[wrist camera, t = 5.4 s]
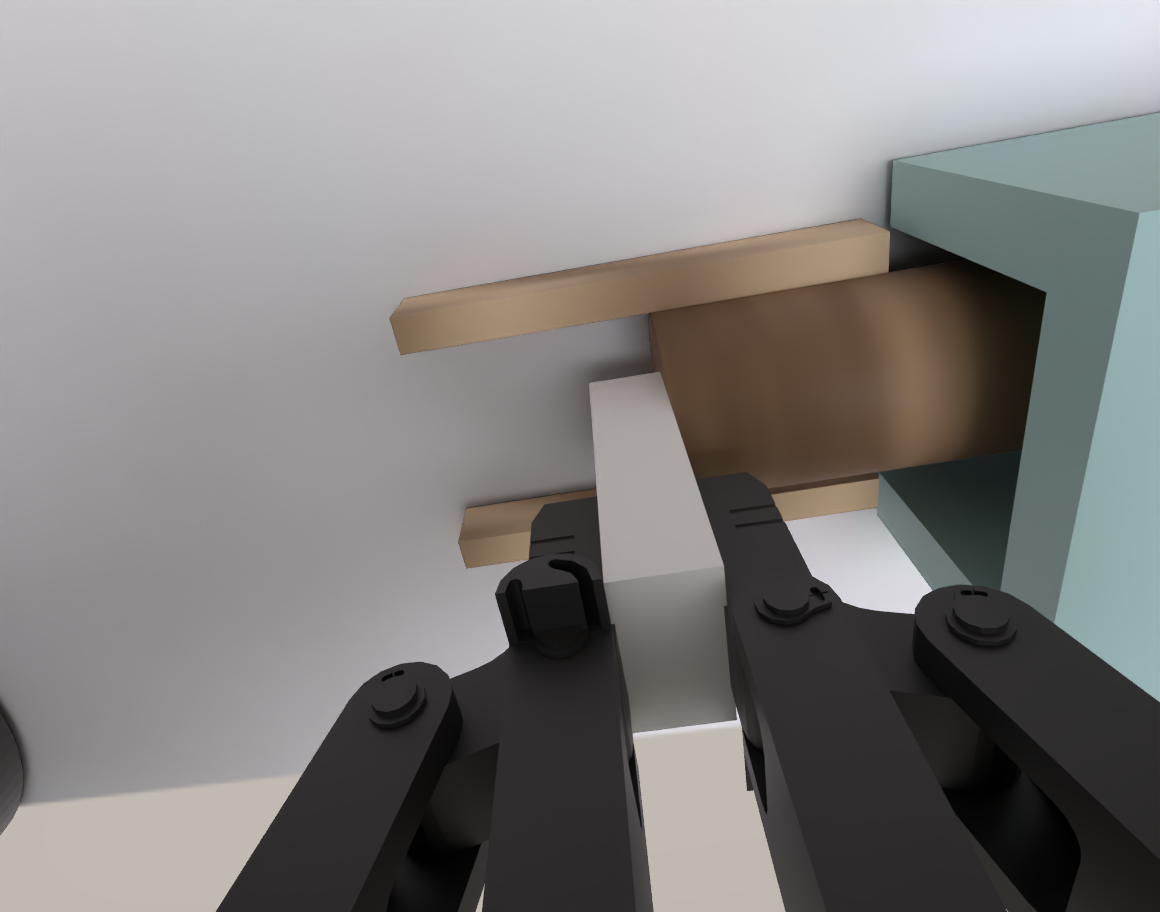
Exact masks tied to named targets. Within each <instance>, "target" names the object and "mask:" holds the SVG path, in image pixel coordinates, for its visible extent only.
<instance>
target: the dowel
mask: <svg viewBox="0 0 1160 912" xmlns="http://www.w3.org/2000/svg"><path fill="white" fill-rule="evenodd" d="M1046 294H1047V292H1045V291H1042V290H1040V289H1038V288H1035V287H1033V286H1030V285H1028V284H1026V283H1023V282H1021V281H1019V280H1016V279H1014V278H1011V277H1009V276H1007V275H1004V274H1002V273H999V272H997V271H995V270H992V269H990V268H988V267H985V266H983V265H980V264H978V263H976V262H973V261H971V260H968V259H964V260H958V261H952V262H946V263H940V264H935V265H929V266H923V267H917V268H911V269H905V270H899V271H893V272H888V273H883V274H877V275H871V276H865V277H859V278H853V279H848V280H842V281H836V282H830V283H824V284H818V285H812V286H806V287H800V288H794V289H789V290H783V291H777V292H771V293H765V294H759V295H753V296H747V297H741V298H735V299H729V300H724V301H718V302H712V303H706V304H700V305H694V306H688V307H682V308H676V309H670V310H665V311H659V312H653V313H650V315H649V334H650V347H651V357H652V365H653V373H654V372H660V373H661V376H662V379H663V382H664V385H665V388H666V391H667V394H668V397H669V400H670V403H671V407H672V410H673V413H674V416H675V419H676V422H677V425H678V428H679V431H680V434H681V437H682V440H683V443H684V446H685V449H686V452H687V455H688V458H689V461H690V464H691V467H692V470H693V473H694V476H695V479H702V478H708V477H715V476H722V475H728V474H735V473H741V472H747V473H749V474H750V475H752V476H753V477H755V478H756V479H758V480H759V481H761V482H762V483H764V484H765V485H766V486H767V488H774V487H781V486H788V485H794V484H801V483H807V482H814V481H821V480H827V479H834V478H840V477H847V476H854V475H860V474H867V473H873V472H880V471H887V470H893V469H900V468H907V467H913V466H920V465H926V464H933V463H940V462H946V461H953V460H959V459H966V458H973V457H979V456H986V455H992V454H999V453H1006V452H1012V451H1019V450H1022V448H1023V442H1024V435H1025V429H1026V422H1027V416H1028V410H1029V403H1030V397H1031V390H1032V384H1033V377H1034V371H1035V365H1036V358H1037V352H1038V345H1039V339H1040V332H1041V326H1042V319H1043V313H1044V307H1045V300H1046Z"/></svg>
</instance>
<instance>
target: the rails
mask: <svg viewBox="0 0 1160 912" xmlns="http://www.w3.org/2000/svg"><path fill="white" fill-rule="evenodd" d="M889 248H890V231H888V230H886V229H883V228H881V227H879V226H877V225H874V224H872V223H870V222H867V221H865V220H863V219H856V220H850V221H845V222H839V223H833V224H827V225H822V226H816V227H810V228H804V229H799V230H793V231H787V232H782V233H776V234H770V235H764V236H759V237H753V238H747V239H741V240H736V241H730V242H724V243H719V244H713V245H707V246H701V247H696V248H690V249H684V250H678V251H673V252H667V253H661V254H656V255H650V256H644V257H638V258H633V259H627V260H621V261H616V262H610V263H604V264H598V265H593V266H587V267H581V268H575V269H570V270H564V271H558V272H553V273H547V274H541V275H535V276H530V277H524V278H518V279H512V280H507V281H501V282H495V283H490V284H484V285H478V286H472V287H467V288H461V289H455V290H449V291H444V292H438V293H432V294H427V295H421V296H415V297H409V298H405V299H404V300H403V301H402V302H401V304H400V305H399V306H398V308H397V309H396V310H395V311H394V313H393V314H392V315H391V317H390V318H389V319H390V322H391V325H392V328H393V332H394V335H395V338H396V341H397V345H398V348H399V351H400V354H401V355H405V354H411V353H417V352H423V351H429V350H434V349H440V348H446V347H452V346H458V345H464V344H470V343H476V342H482V341H488V340H493V339H499V338H505V337H511V336H517V335H523V334H529V333H535V332H541V331H547V330H552V329H558V328H564V327H570V326H576V325H582V324H588V323H594V322H600V321H606V320H611V319H617V318H623V317H629V316H635V315H641V314H647V313H653V312H659V311H665V310H670V309H676V308H682V307H688V306H694V305H700V304H706V303H712V302H718V301H724V300H729V299H735V298H741V297H747V296H753V295H759V294H765V293H771V292H777V291H783V290H789V289H794V288H800V287H806V286H812V285H818V284H824V283H830V282H836V281H842V280H848V279H853V278H859V277H865V276H871V275H877V274H883V273H888V271H889ZM768 490H769V492H770V494H771V496H772V498H773V500H774V502H775V505H776V507H777V508H778V510H779V512H780V514H781V516H782V518H783V521H789V520H796V519H803V518H809V517H816V516H823V515H829V514H836V513H843V512H850V511H856V510H863V509H870V508H876V507H878V495H879V478H878V476H877V475H876V474H875V473H874V472H873V473H867V474H860V475H854V476H847V477H840V478H834V479H827V480H821V481H814V482H807V483H801V484H794V485H788V486H781V487H774V488H768ZM596 496H597V489H590V490H584V491H577V492H571V493H564V494H558V495H551V496H545V497H538V498H532V499H525V500H519V501H512V502H506V503H499V504H493V505H486V506H480V507H473V508H467V509H466V512H465V516H464V520H463V524H462V528H461V533H460V537H459V541H458V543H459V546H460V549H461V553H462V556H463V559H464V563H465V566H466V568H473V567H480V566H487V565H493V564H500V563H507V562H513V561H520V560H527V559H529V547H530V535H531V523H532V521H533V520H534V518H535V517H536V516H537V514H538V513H539V511H540V510H541V509H542V507H543V506H544V504H550V503H556V502H563V501H569V500H576V499H583V498H589V497H596Z"/></svg>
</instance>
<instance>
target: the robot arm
mask: <svg viewBox="0 0 1160 912" xmlns="http://www.w3.org/2000/svg"><path fill="white" fill-rule="evenodd" d="M589 390H590V403H591V417H592V431H593V445H594V458H595V472H596V486H597V496H596V497H589V498H583V499H576V500H569V501H563V502H556V503H550V504H544V506H543V507H542V509H541V510H540V511H539V513H538V514H537V516H536V517H535V518H534V520H533V521H532V523H531V535H530V547H529V560H528V561H526V562H524V563H522V564H520V565H518V566H517V567H515V568H513V569H512V570H511V571H510V572H509V573H508V574H507V575H506V576H505V577H504V578H503V579H502V580H501V581H500V583H499V586H498V588H497V591H496V593H495V596H496V600H497V603H498V607H499V610H500V613H501V617H502V620H503V624H504V627H505V631H506V634H507V638H508V641H509V648H508V649H507V650H506V651H505V652H504V653H502V654H501V655H500V656H498V657H497V658H495V659H494V660H493V661H491V662H489V663H487V664H485V665H483V666H481V667H479V668H476V669H474V670H471V671H469V672H466V673H464V674H461V675H459V676H456V677H454V678H451V679H449V676H448V674H446V673H445V672H444V671H443V670H442V669H440V668H439V667H438V666H437V665H432V664H428V663H424V662H413V663H404V664H399V665H397V666H394V667H392V668H389V669H386V670H384V671H381V672H380V673H378V674H377V675H375V676H374V677H373V678H371V679H370V680H368V681H367V682H365V683H364V684H363V685H362V686H361V687H360V688H359V689H358V691H357V692H356V693H355V694H354V695H353V696H352V698H351V699H350V700H349V701H348V703H347V705H346V706H345V708H344V709H343V711H342V713H341V714H340V716H339V717H338V719H337V720H336V722H335V724H334V725H333V727H332V728H331V730H330V732H329V733H328V735H327V736H326V738H325V740H324V741H323V743H322V744H321V746H320V747H319V749H318V751H317V752H316V754H315V755H314V757H313V759H312V760H311V762H310V763H309V765H308V766H307V768H306V770H305V771H304V773H303V774H302V776H301V778H300V779H299V781H298V782H297V784H296V785H295V787H294V789H293V790H292V792H291V793H290V795H289V797H288V798H287V800H286V801H285V803H284V804H283V806H282V808H281V809H280V811H279V813H278V814H277V816H276V817H275V819H274V820H273V822H272V823H271V825H270V827H269V828H268V830H267V831H266V833H265V835H264V836H263V838H262V839H261V841H260V843H259V844H258V846H257V847H256V849H255V850H254V852H253V854H252V855H251V857H250V858H249V860H248V861H247V863H246V865H245V866H244V868H243V869H242V871H241V873H240V874H239V876H238V877H237V879H236V881H235V882H234V884H233V885H232V887H231V889H230V890H229V892H228V893H227V895H226V896H225V898H224V900H223V901H222V903H221V904H220V906H219V907H218V909H217V911H216V912H475V911H476V908H477V905H478V902H479V899H480V896H481V893H482V890H483V887H484V884H485V887H484V897H483V908H482V912H653V903H652V893H651V884H650V875H649V865H648V856H647V847H646V837H645V828H644V818H643V809H642V800H641V791H640V781H639V771H638V764H637V759H636V754H635V749H634V744H633V734H632V733H637V732H645V731H653V730H661V729H668V728H676V727H684V726H692V725H700V724H708V723H716V722H723V721H731V720H737V716H736V707H737V711H738V714H739V718H740V721H741V725H742V732H743V745H744V758H745V770H746V782H747V791H751V790H754V793H755V797H756V801H757V804H758V808H759V812H760V816H761V820H762V823H763V827H764V831H765V835H766V838H767V842H768V846H769V850H770V854H771V858H772V861H773V865H774V869H775V873H776V877H777V880H778V884H779V888H780V892H781V896H782V899H783V903H784V907H785V911H786V912H1007V911H1008V912H1160V702H1159V701H1158V700H1156V699H1155V698H1154V697H1152V696H1151V695H1150V694H1148V693H1147V692H1145V691H1144V690H1143V689H1141V688H1140V687H1139V686H1137V685H1136V684H1135V683H1133V682H1132V681H1131V680H1129V679H1128V678H1127V677H1125V676H1124V675H1123V674H1121V673H1120V672H1119V671H1117V670H1116V669H1115V668H1113V667H1112V666H1111V665H1109V664H1108V663H1107V662H1105V661H1104V660H1103V659H1101V658H1100V657H1099V656H1097V655H1096V654H1094V653H1093V652H1092V651H1090V650H1089V649H1088V648H1086V647H1085V646H1084V645H1082V644H1081V643H1080V642H1078V641H1077V640H1076V639H1074V638H1073V637H1072V636H1070V635H1069V634H1068V633H1066V632H1065V631H1064V630H1062V629H1061V628H1060V627H1058V626H1057V625H1056V624H1054V623H1053V622H1052V621H1050V620H1049V619H1048V618H1046V617H1045V616H1043V615H1042V614H1041V613H1039V612H1038V611H1037V610H1035V609H1034V608H1033V607H1031V606H1030V605H1028V604H1027V603H1025V602H1023V601H1021V600H1019V599H1018V598H1016V597H1014V596H1012V595H1010V594H1009V593H1005V592H1002V591H999V590H995V589H992V588H988V587H985V586H975V585H962V584H959V585H953V586H947V587H941V588H937V589H935V590H934V591H932V592H930V593H928V594H926V595H924V596H923V597H922V599H921V600H920V602H919V603H918V605H917V607H916V608H915V614H905V613H894V612H883V611H875V610H869V609H863V608H858V607H855V606H852V605H849V604H846V603H843V602H842V601H841V599H840V597H839V596H838V595H837V594H836V593H835V592H834V591H833V589H832V588H831V587H830V586H829V585H827V584H825V583H823V582H821V581H820V580H818V579H816V578H814V577H812V575H811V573H810V571H809V569H808V567H807V565H806V563H805V561H804V559H803V557H802V555H801V553H800V551H799V549H798V547H797V545H796V543H795V541H794V539H793V537H792V535H791V533H790V531H789V529H788V527H787V525H786V523H785V522H783V518H782V516H781V514H780V512H779V510H778V508H777V507H776V505H775V502H774V500H773V498H772V496H771V494H770V492H769V490H768V488H767V486H766V485H765V484H764V483H762V482H761V481H759V480H758V479H756V478H755V477H753V476H752V475H750V474H749V473H747V472H741V473H735V474H728V475H722V476H715V477H708V478H702V479H695V476H694V473H693V470H692V467H691V464H690V461H689V458H688V455H687V452H686V449H685V446H684V443H683V440H682V437H681V434H680V431H679V428H678V425H677V422H676V419H675V416H674V413H673V410H672V407H671V403H670V400H669V397H668V394H667V391H666V388H665V385H664V382H663V379H662V376H661V373H660V372H654V373H648V374H642V375H636V376H629V377H623V378H617V379H611V380H605V381H598V382H592V383H589ZM735 703H736V704H735ZM22 789H23V771H22V764H21V759H20V755H19V751H18V748H17V745H16V742H15V740H14V738H13V735H12V733H11V731H10V729H9V727H8V725H7V723H6V722H5V720H4V718H3V716H2V715H1V713H0V835H1V834H2V832H3V831H4V830H5V828H6V827H7V825H8V824H9V823H10V821H11V820H12V819H13V816H14V814H15V813H16V811H17V809H18V806H19V803H20V800H21V795H22ZM1006 909H1007V911H1006Z"/></svg>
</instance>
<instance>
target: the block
mask: <svg viewBox="0 0 1160 912" xmlns="http://www.w3.org/2000/svg"><path fill="white" fill-rule="evenodd" d="M890 227H892V228H894V229H897V230H899V231H902V232H904V233H906V234H909V235H911V236H914V237H916V238H918V239H921V240H923V241H925V242H928V243H930V244H933V245H935V246H937V247H940V248H942V249H945V250H947V251H949V252H952V253H954V254H957V255H959V256H961V257H964V258H966V259H968V260H971V261H973V262H976V263H978V264H980V265H983V266H985V267H988V268H990V269H992V270H995V271H997V272H999V273H1002V274H1004V275H1007V276H1009V277H1011V278H1014V279H1016V280H1019V281H1021V282H1023V283H1026V284H1028V285H1030V286H1033V287H1035V288H1038V289H1040V290H1042V291H1045V292H1047V294H1046V300H1045V307H1044V313H1043V319H1042V326H1041V332H1040V339H1039V345H1038V352H1037V358H1036V365H1035V371H1034V377H1033V384H1032V390H1031V397H1030V403H1029V410H1028V416H1027V422H1026V429H1025V435H1024V442H1023V448H1022V450H1020V451H1014V452H1007V453H1001V454H994V455H987V456H981V457H974V458H968V459H961V460H954V461H948V462H941V463H935V464H928V465H922V466H915V467H908V468H902V469H895V470H889V471H882V472H879V495H878V509H877V515H878V517H879V518H880V519H881V521H882V522H883V523H884V525H885V526H886V527H887V529H888V530H889V532H890V533H891V534H892V536H893V537H894V538H895V540H896V541H897V542H898V544H899V545H900V547H901V548H902V549H903V551H904V552H905V553H906V555H907V556H908V557H909V559H910V560H911V561H912V563H913V564H914V566H915V567H916V568H917V570H918V571H919V572H920V574H921V575H922V576H923V578H924V579H925V581H926V582H927V583H928V585H929V586H930V587H931V589H932V590H933V591H934V590H935V589H937V588H941V587H947V586H953V585H959V584H962V585H975V586H985V587H988V588H992V589H995V590H999V591H1002V592H1005V593H1009V594H1010V595H1012V596H1014V597H1016V598H1018V599H1019V600H1021V601H1023V602H1025V603H1027V604H1028V605H1030V606H1031V607H1033V608H1034V609H1035V610H1037V611H1038V612H1039V613H1041V614H1042V615H1043V616H1045V617H1046V618H1048V619H1049V620H1050V621H1052V622H1053V623H1054V624H1056V625H1057V626H1058V627H1060V628H1061V629H1062V630H1064V631H1065V632H1066V633H1068V634H1069V635H1070V636H1072V637H1073V638H1074V639H1076V640H1077V641H1078V642H1080V643H1081V644H1082V645H1084V646H1085V647H1086V648H1088V649H1089V650H1090V651H1092V652H1093V653H1094V654H1096V655H1097V656H1099V657H1100V658H1101V659H1103V660H1104V661H1105V662H1107V663H1108V664H1109V665H1111V666H1112V667H1113V668H1115V669H1116V670H1117V671H1119V672H1120V673H1121V674H1123V675H1124V676H1125V677H1127V678H1128V679H1129V680H1131V681H1132V682H1133V683H1135V684H1136V685H1137V686H1139V687H1140V688H1141V689H1143V690H1144V691H1145V692H1147V693H1148V694H1150V695H1151V696H1152V697H1154V698H1155V699H1156V700H1158V701H1159V702H1160V113H1154V114H1148V115H1143V116H1137V117H1132V118H1126V119H1121V120H1115V121H1109V122H1104V123H1098V124H1093V125H1087V126H1082V127H1076V128H1070V129H1065V130H1059V131H1054V132H1048V133H1043V134H1037V135H1031V136H1026V137H1020V138H1015V139H1009V140H1003V141H998V142H992V143H987V144H981V145H976V146H970V147H964V148H959V149H953V150H948V151H942V152H937V153H931V154H925V155H920V156H914V157H909V158H903V159H898V160H893V171H892V194H891V216H890Z"/></svg>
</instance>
